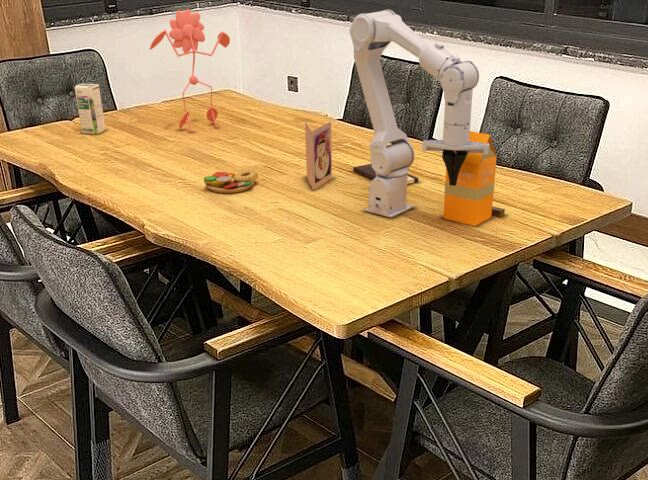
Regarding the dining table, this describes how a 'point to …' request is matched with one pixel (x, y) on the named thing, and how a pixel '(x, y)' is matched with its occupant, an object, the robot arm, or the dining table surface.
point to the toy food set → (231, 181)
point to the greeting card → (318, 155)
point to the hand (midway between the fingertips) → (453, 184)
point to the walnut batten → (497, 211)
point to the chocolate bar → (370, 173)
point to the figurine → (187, 37)
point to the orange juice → (472, 186)
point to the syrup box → (90, 108)
